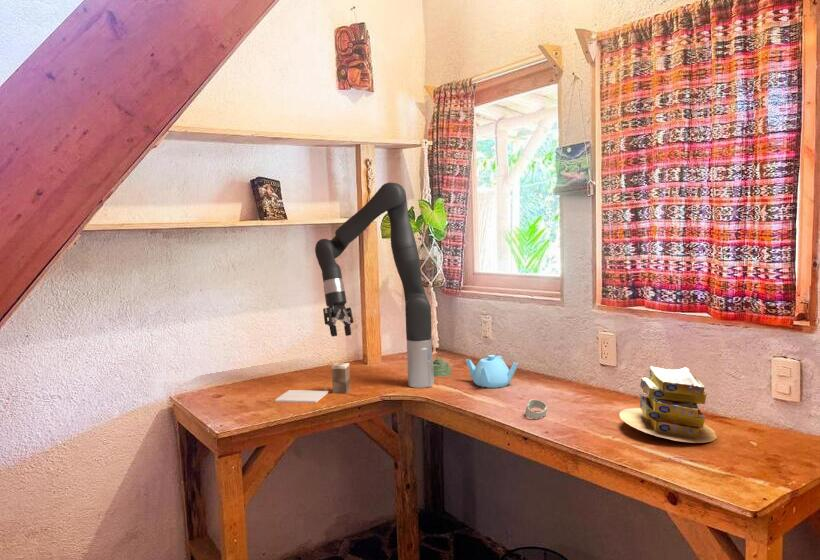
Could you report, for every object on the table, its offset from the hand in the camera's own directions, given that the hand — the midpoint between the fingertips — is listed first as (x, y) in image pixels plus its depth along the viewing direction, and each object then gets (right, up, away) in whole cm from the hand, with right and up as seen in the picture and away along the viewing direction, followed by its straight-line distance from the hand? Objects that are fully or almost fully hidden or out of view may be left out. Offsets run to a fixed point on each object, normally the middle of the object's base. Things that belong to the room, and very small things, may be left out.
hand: (341, 335), depth 224 cm
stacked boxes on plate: (+96, -22, -54) cm, 112 cm away
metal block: (0, -20, -1) cm, 20 cm away
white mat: (-13, -21, -7) cm, 26 cm away
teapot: (+55, -18, +2) cm, 58 cm away
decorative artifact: (+36, -17, +21) cm, 45 cm away
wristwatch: (+63, -21, -37) cm, 76 cm away
